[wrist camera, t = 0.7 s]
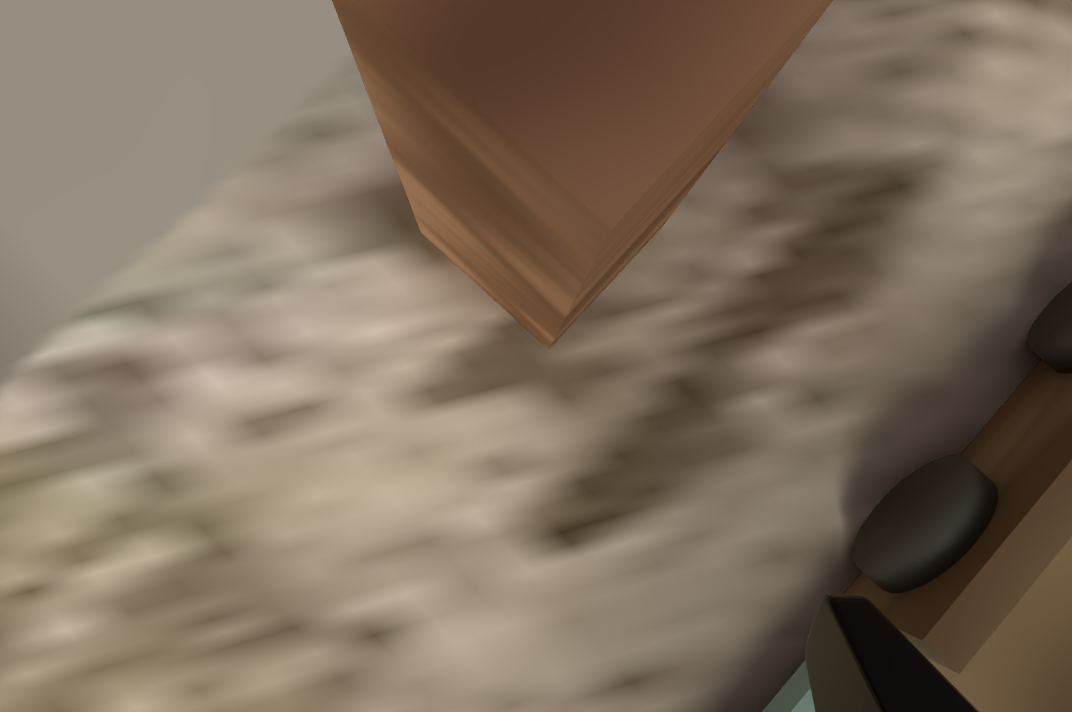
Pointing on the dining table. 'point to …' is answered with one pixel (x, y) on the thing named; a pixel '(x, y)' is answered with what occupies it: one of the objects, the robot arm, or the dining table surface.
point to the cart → (990, 544)
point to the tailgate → (794, 694)
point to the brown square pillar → (560, 125)
